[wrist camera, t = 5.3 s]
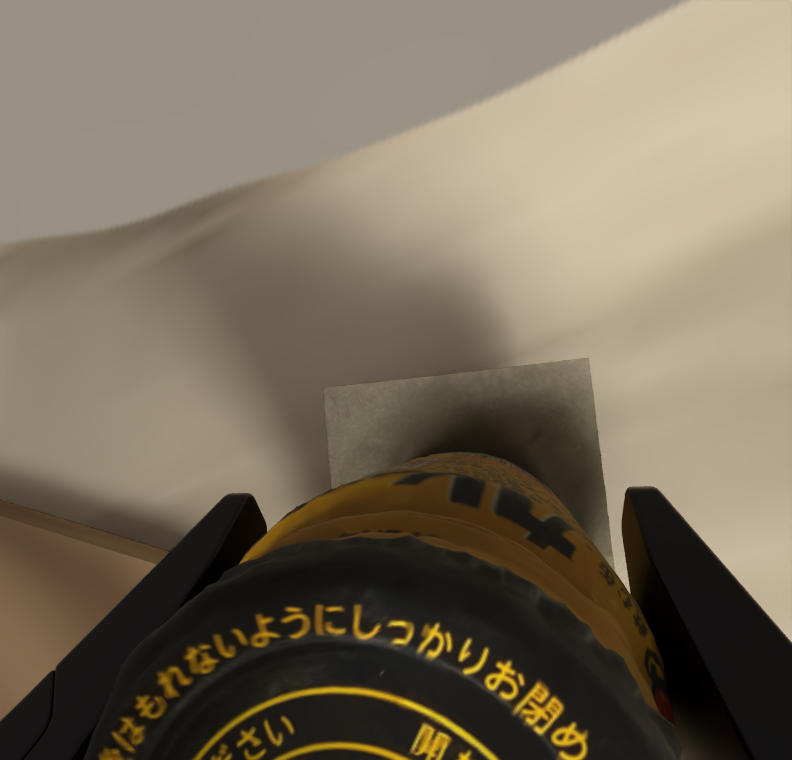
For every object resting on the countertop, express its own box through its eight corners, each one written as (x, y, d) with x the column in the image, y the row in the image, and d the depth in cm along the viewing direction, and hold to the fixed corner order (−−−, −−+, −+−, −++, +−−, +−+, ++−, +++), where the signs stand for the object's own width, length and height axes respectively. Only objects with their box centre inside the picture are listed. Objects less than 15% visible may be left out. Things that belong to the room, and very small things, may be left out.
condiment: (349, 695, 16) (-55, 1391, 4) (325, 387, 17) (-68, 290, 5) (629, 690, 15) (1086, 1625, 3) (587, 359, 16) (826, 152, 4)
